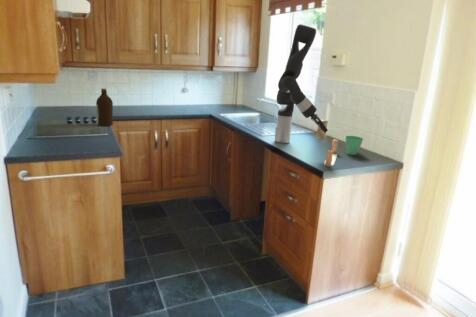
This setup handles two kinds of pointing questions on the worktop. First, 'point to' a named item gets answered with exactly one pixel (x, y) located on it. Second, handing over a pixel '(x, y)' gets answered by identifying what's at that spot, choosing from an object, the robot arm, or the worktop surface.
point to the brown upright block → (320, 132)
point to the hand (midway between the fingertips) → (325, 130)
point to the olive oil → (104, 109)
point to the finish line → (331, 154)
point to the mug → (353, 144)
